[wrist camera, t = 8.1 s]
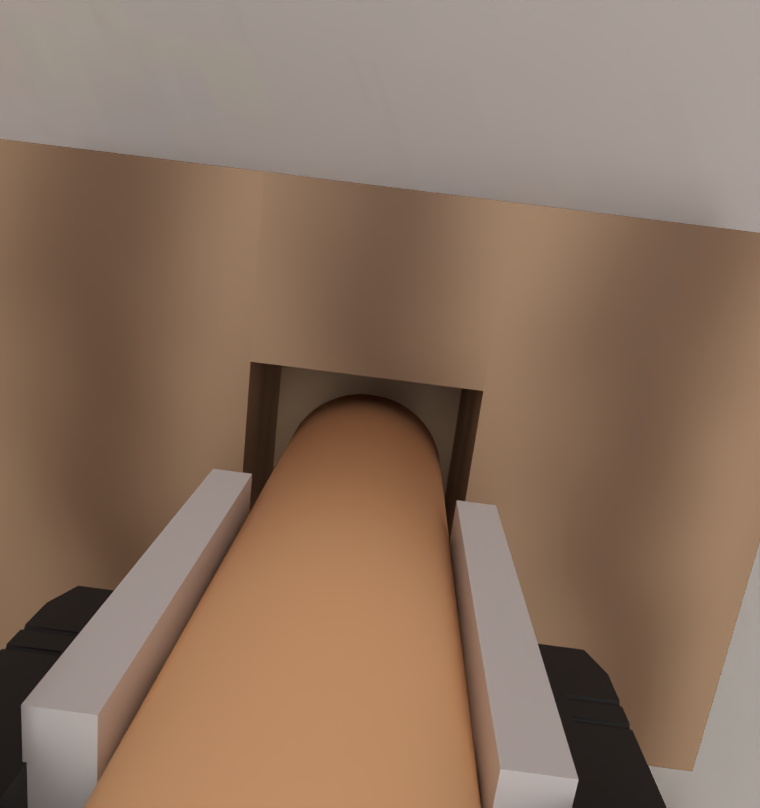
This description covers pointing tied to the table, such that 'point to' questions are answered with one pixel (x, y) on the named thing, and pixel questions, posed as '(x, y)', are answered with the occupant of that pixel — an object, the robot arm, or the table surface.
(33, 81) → the table surface
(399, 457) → the pin
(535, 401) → the block
